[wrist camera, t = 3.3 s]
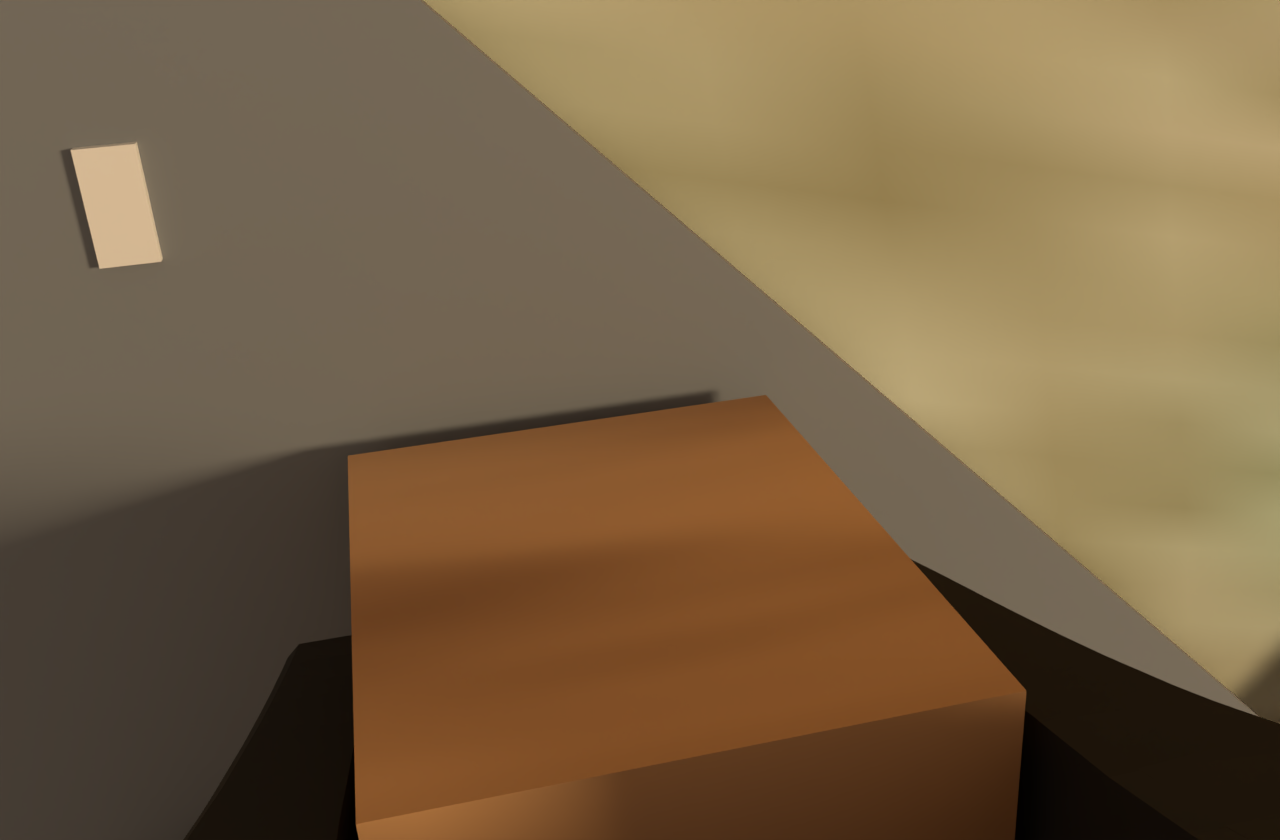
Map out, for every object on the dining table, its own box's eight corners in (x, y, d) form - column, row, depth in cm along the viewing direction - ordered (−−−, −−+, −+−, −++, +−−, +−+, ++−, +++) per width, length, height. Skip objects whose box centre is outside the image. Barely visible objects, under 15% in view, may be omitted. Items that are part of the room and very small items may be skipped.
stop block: (773, 730, 14) (990, 1142, 9) (406, 802, 13) (446, 1288, 8) (765, 394, 12) (1026, 691, 7) (347, 455, 11) (356, 824, 7)
